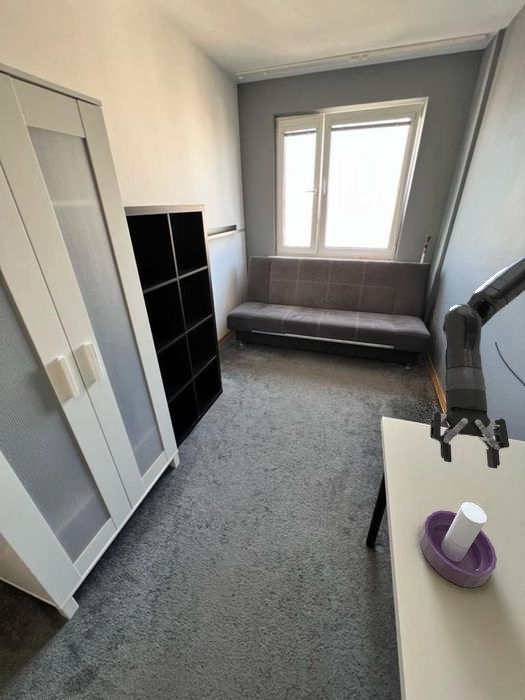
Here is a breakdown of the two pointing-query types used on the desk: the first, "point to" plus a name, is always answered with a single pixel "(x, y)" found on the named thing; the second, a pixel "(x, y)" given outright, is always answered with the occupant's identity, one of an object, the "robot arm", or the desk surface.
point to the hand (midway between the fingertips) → (469, 464)
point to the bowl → (473, 564)
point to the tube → (463, 531)
